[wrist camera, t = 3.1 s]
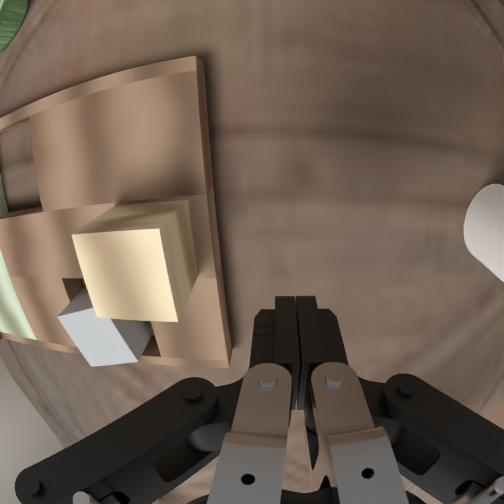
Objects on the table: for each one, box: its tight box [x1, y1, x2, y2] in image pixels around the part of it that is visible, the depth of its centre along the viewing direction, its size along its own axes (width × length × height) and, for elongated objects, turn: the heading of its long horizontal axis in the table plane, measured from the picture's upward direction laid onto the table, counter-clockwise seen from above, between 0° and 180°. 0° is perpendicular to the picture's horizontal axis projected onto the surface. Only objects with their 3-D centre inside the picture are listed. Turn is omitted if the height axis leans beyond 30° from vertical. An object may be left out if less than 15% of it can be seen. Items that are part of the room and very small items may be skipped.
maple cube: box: [72, 200, 199, 322], centre depth 18 cm, size 6×6×6 cm
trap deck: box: [0, 56, 232, 368], centre depth 21 cm, size 31×24×5 cm
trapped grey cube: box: [58, 286, 153, 367], centre depth 24 cm, size 6×6×6 cm
